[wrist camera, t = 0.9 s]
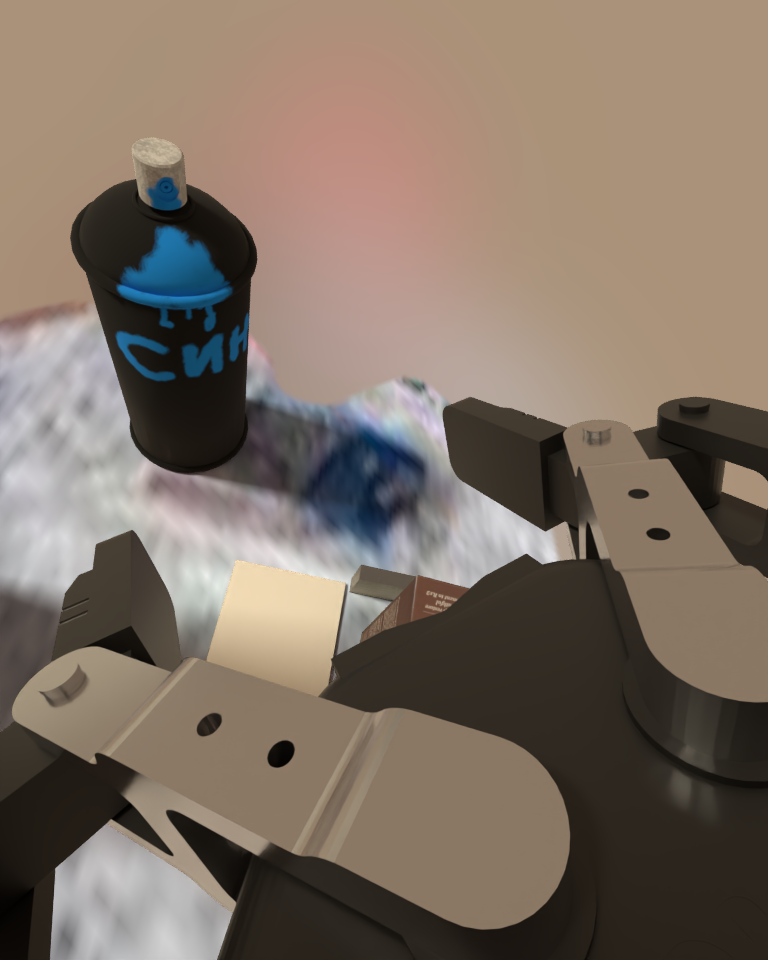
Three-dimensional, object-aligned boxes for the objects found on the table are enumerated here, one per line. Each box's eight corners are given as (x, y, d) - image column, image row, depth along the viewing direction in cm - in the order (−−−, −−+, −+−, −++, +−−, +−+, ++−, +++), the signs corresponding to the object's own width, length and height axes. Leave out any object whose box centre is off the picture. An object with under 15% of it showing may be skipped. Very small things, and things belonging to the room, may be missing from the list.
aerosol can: (117, 394, 36) (19, 86, 19) (227, 373, 40) (225, 97, 23) (147, 487, 34) (64, 224, 17) (263, 456, 37) (290, 213, 20)
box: (442, 645, 34) (532, 602, 24) (434, 716, 32) (531, 701, 21) (359, 624, 33) (416, 570, 23) (345, 695, 31) (402, 670, 21)
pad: (187, 724, 28) (186, 724, 28) (236, 560, 33) (235, 559, 33) (317, 744, 29) (317, 744, 29) (345, 583, 34) (345, 582, 34)
